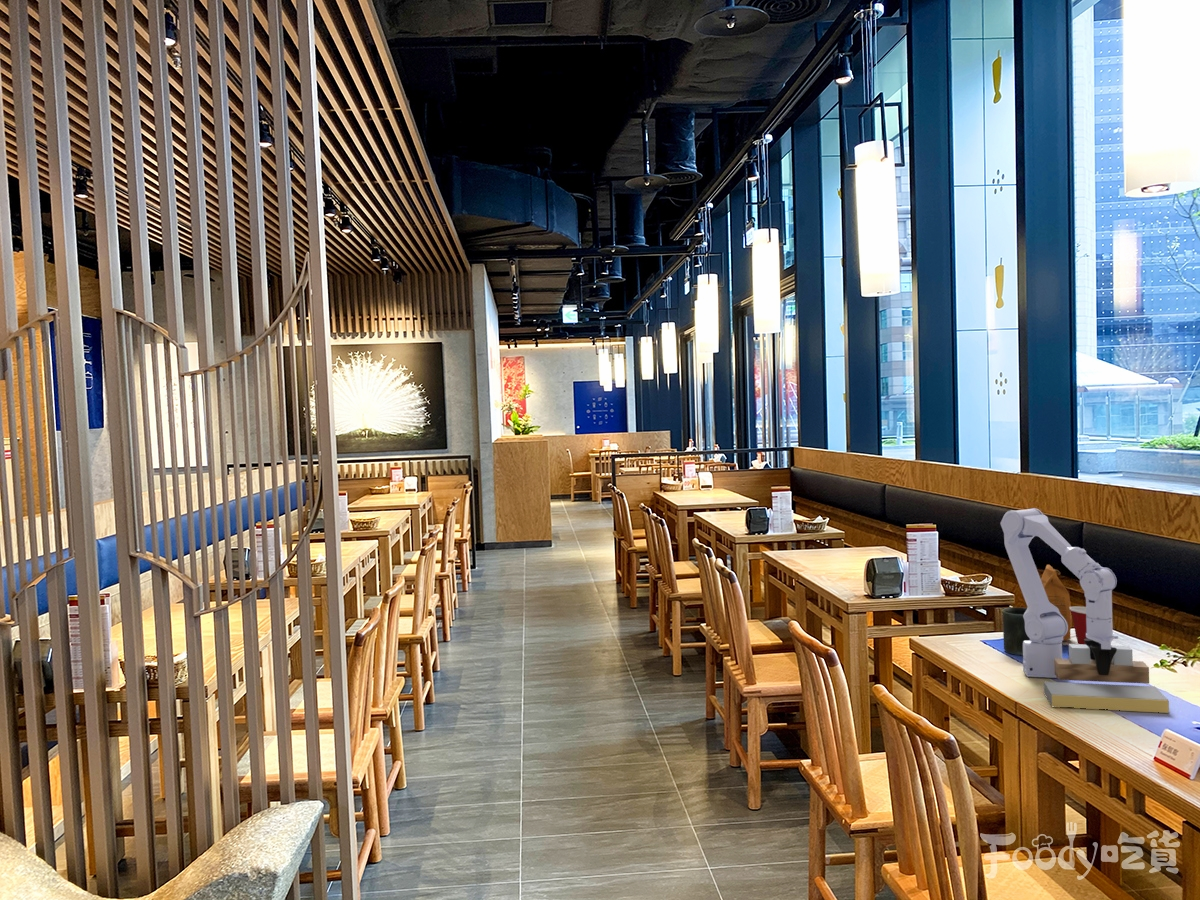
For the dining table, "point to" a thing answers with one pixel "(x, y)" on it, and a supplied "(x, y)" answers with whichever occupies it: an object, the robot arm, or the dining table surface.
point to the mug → (1014, 630)
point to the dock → (1106, 697)
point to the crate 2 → (1122, 656)
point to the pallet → (1090, 673)
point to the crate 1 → (1079, 654)
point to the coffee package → (1057, 595)
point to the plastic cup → (1079, 623)
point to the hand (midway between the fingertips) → (1100, 671)
